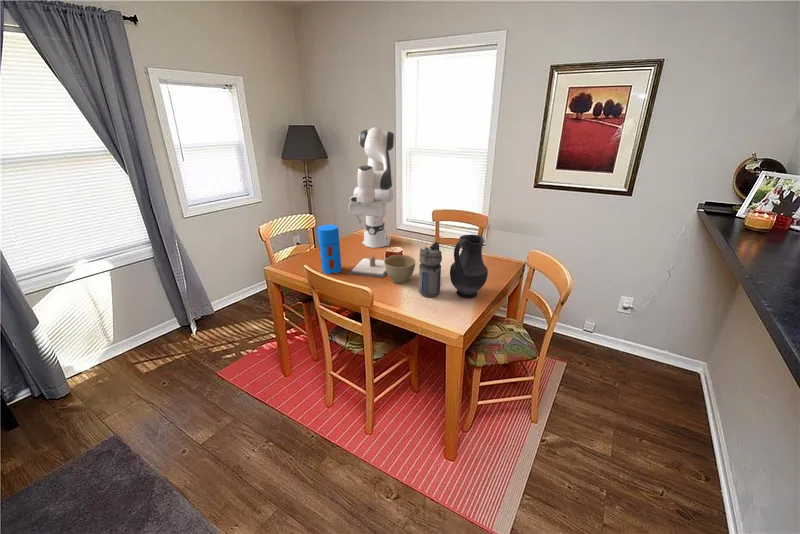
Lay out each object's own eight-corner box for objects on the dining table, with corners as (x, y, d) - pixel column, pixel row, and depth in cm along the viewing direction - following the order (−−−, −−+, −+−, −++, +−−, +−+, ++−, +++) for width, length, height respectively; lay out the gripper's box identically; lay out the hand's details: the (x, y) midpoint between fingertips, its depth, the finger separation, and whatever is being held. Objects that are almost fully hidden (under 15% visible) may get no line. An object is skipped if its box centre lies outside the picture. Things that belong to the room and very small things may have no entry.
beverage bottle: (445, 289, 171) (447, 241, 161) (433, 300, 161) (435, 250, 151) (427, 284, 176) (428, 238, 166) (414, 295, 166) (415, 246, 155)
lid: (363, 259, 206) (363, 250, 203) (392, 262, 201) (392, 253, 199) (351, 271, 190) (351, 261, 187) (383, 275, 185) (382, 265, 183)
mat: (363, 258, 208) (363, 258, 208) (395, 262, 203) (395, 261, 203) (348, 273, 188) (348, 272, 188) (383, 277, 184) (383, 276, 183)
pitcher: (491, 293, 167) (498, 234, 155) (468, 310, 153) (474, 246, 141) (461, 282, 178) (465, 226, 165) (437, 297, 164) (439, 237, 151)
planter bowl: (378, 282, 178) (378, 263, 174) (393, 271, 191) (393, 252, 187) (406, 289, 172) (406, 269, 167) (420, 276, 185) (420, 258, 180)
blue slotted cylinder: (322, 275, 187) (317, 231, 177) (321, 267, 196) (316, 225, 186) (342, 273, 190) (339, 229, 179) (340, 265, 199) (337, 223, 189)
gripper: (387, 197, 182) (387, 223, 187) (351, 196, 187) (352, 220, 192) (383, 200, 176) (384, 226, 181) (346, 198, 181) (348, 223, 186)
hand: (367, 223), depth 187 cm, fingers open, 8 cm apart
